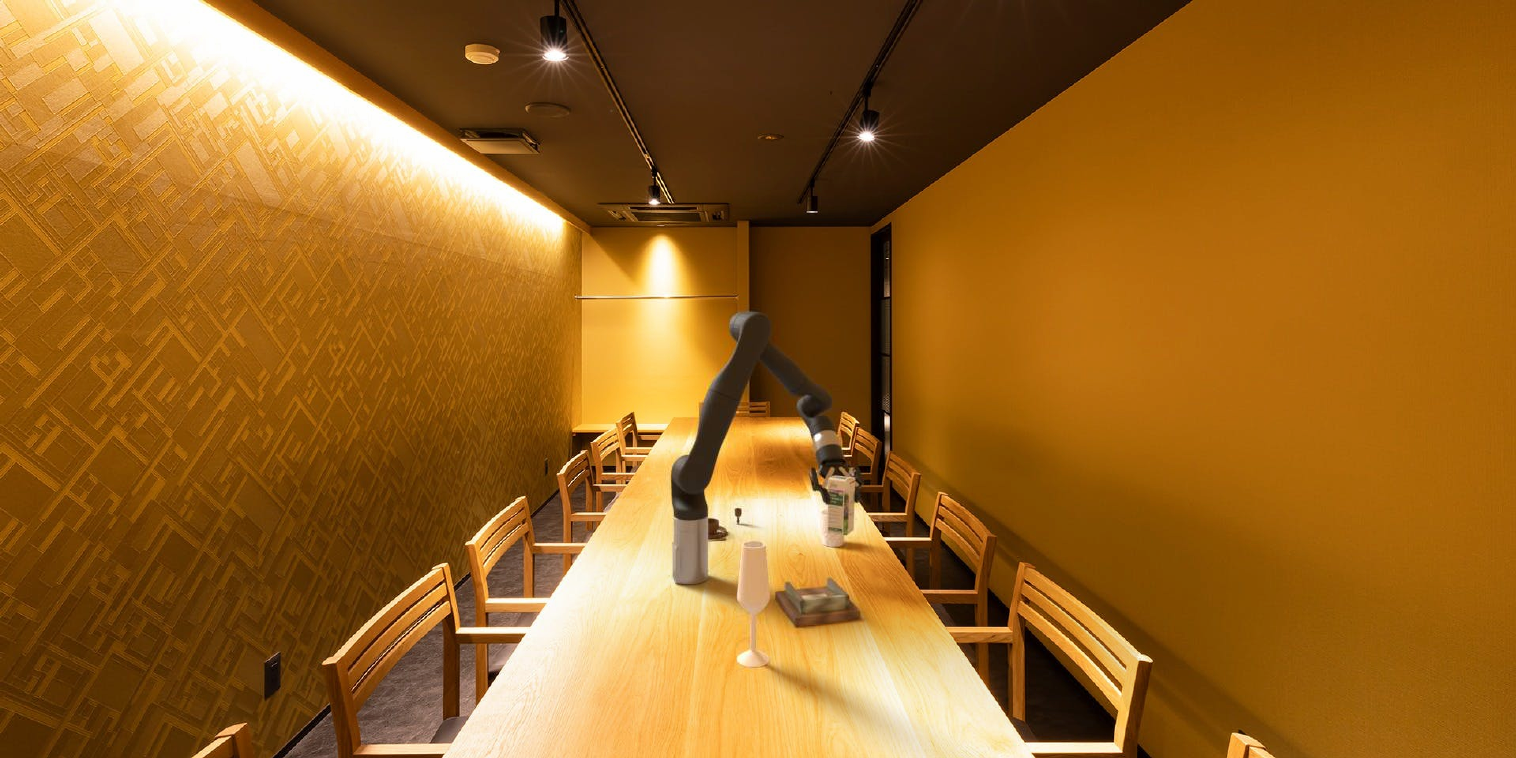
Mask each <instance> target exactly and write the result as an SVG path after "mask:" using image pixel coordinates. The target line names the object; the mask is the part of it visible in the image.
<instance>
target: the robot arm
mask: <svg viewBox="0 0 1516 758" xmlns="http://www.w3.org/2000/svg"><path fill="white" fill-rule="evenodd" d="M772 326H773V325H772V322H771V319H770V318H769V317H768V315H767V314H765V313H762V312H757V311H748V310H745V311H739V312H737V313H735V314H734V315H733V316H732V317H731V319H730V321H729V326H728V329H729V333H730V336H731V337H732V338H733V340H734V341H735V342H736V345H735V348H734V351H733V353H732V354H731V357H730V359H729V360H728V362H727V363H726V364H725V366H724V367H723V368H721V370H720V371H719V372H718V374H717V375H716V376H715V377H714V379H712V381H711V383H710V385H709V387H708V389H707V392H706V394H705V397H704V399H703V402H702V404H701V409H700V413H699V418H698V419H699V420H698V427H697V431H696V432H697V434H696V437H695V440H694V443H693V445H692V447H691V450H689V454H684V455H681V456H680V457H678V458H677V459H676V460H675V461H674V462H673V465H672V466H671V472H670V491H671V492H670V493H671V497H670V498H671V505H672V509H673V541H672V543H671V546H672V549H671V551H672V578H673V581H674V583H675V584H683V585H697V584H701V583H704V582H706V581H707V580H708V579H709V542H708V541H709V539H708V536H709V535H708V518H709V505H708V502H707V500H706V493H705V490H706V489H707V488H708V486H709V485H710V483H711V481H712V478H713V475H714V471H715V468H716V464H717V462H718V461H717V460H718V458H719V454H720V451H721V448H722V446H723V443H724V441H725V439H726V437H727V434H728V432H729V430H730V427H731V424H732V423H733V420H734V418H735V416H736V413H737V411H738V409H739V407H740V403H741V401H742V399H743V395H744V393H745V391H746V389H747V385H748V384H749V381H750V379H751V377H752V373H753V371H754V369H755V367H756V365H757V363H758V361H759V362H760V364H762V365H763V366H764V367H765V368H766V369H767V370H768V371H769V373H771V374H772V375H773V377H774V378H775V379H776V380H777V381H778V382H779V383H780V384H781V386H782V387H783V388H784V389H785V390H786V391H787V392H788V393H789V395H790V396H791V397H794V398H799V399H798V400H797V402H796V403H797V404H796V409H797V412H798V413H799V415H800V416H801V419H803V421H804V423H805V425H806V426H807V428H808V431H809V433H810V438H811V441H812V446H813V447H812V448H813V453H814V456H815V459H816V463H817V465H818V468H817V469H816V467H811V468H810V471H809V473H808V475H809V480H810V483H811V489H812V491H813V492H819V493H820V496H821V499H822V502H823V503H824V504H825V505H826V506H828V505H829V503H830V496H829V493H828V488H827V487H828V479H829V478H830V477H832V476H844V477H855V503H854V504H859V503H860V500H861V499H862V495H861V491H860V490H861V489H862V488H863V486H864V484H865V480H864V479H863V475H862V472H861V469H860V467H859V466H858V465H854V467H849V466H848V465H847V461H846V457H845V455H844V454H845V453H844V450H843V449H842V445H841V442H840V439H839V436H838V434H837V431H836V429H835V425H834V422H833V420H832V418H831V417H830V416H828V415H822V414H824V413H827V412H828V411H830V410H831V409H832V408H833V406H834V400H833V397H832V395H831V393H830V392H829V391H828V390H827V389H825V388H824V387H823V386H821V385H820V384H818V383H817V382H815V381H813V380H812V379H810V378H809V377H808V376H807V374H805V372H804V371H803V370H802V369H801V367H799V365H798V364H797V363H795V361H794V360H793V359H791V358H790V357H789V356H788V355H787V354H785V353H784V352H783V351H782V350H780V349H779V348H778V347H777V346H776V345H774V344H773V343H772V342H771V340H770V339H771V338H770V337H771V334H772V330H773V329H772ZM800 397H801V398H800ZM819 476H820V477H821V478H822V479H823V483H821V484H820V482H819Z"/></svg>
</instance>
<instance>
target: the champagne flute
mask: <svg viewBox="0 0 1516 758" xmlns="http://www.w3.org/2000/svg"><path fill="white" fill-rule="evenodd" d="M768 569H769V568H768V559H767V546H766V543H765V542H763V541H761V540H748V541H744V542H743V543H742V544H741V553H740V563H739V575H738V582H737V592H736V593H737V594H736V599H737V602H738V604H739V605H740V606H741V608H743V609H744V610H745V611H746V612H747V613H748V614H750V640H749V641H750V642H749V644H750V649H749V650H746V651H744V652H742V653H741V654H739V655H738V656H737V658H736V660H737V663H738V664H739V665H741V666H744V667H746V668H747V667H748V668H758V667H759V668H760V667H763V666H765V665H767V664H768V663H769V662H770V656H768V655H767V654H766V653H765V652H762V651H760V650H758V649H757V614H759V613H760V612H761V611H762V610H763V609H764V608H766V606H767V605H768V604H769V602H770V598H771V592H770V591H771V590H770V582H769V570H768Z"/></svg>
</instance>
